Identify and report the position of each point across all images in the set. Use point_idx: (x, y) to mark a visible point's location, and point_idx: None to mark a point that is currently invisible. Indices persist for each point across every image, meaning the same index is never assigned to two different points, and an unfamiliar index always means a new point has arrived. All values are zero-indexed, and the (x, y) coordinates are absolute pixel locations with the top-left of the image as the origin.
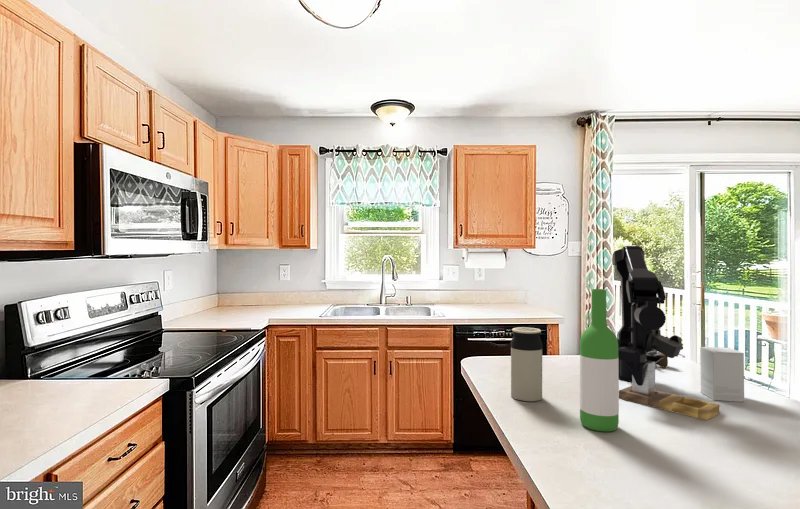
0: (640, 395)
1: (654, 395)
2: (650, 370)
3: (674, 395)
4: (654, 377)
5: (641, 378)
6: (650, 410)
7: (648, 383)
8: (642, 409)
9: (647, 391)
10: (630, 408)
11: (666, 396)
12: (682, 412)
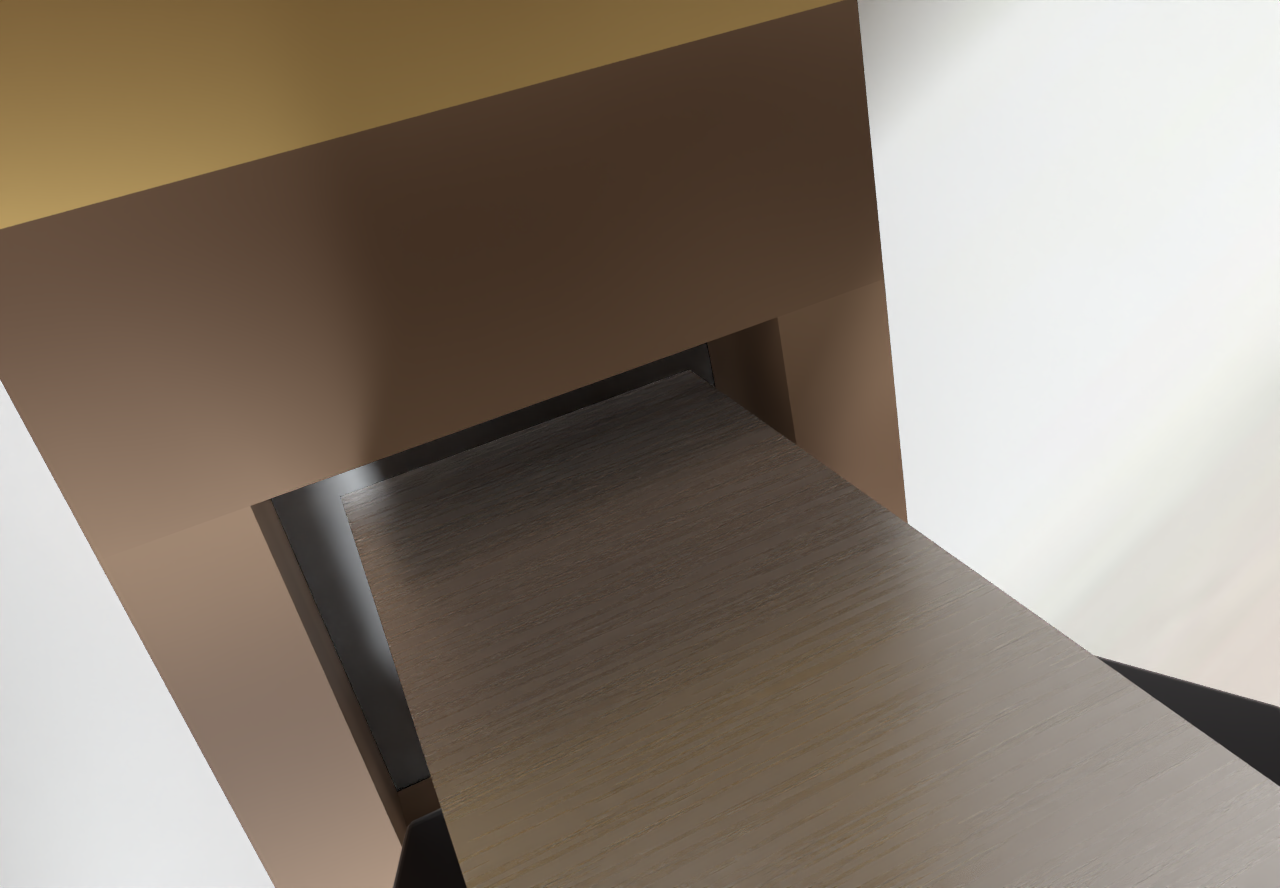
0: (885, 431)
1: (619, 336)
2: (1047, 881)
3: (13, 133)
4: (513, 789)
5: (1114, 666)
6: (990, 6)
7: (888, 522)
8: (1046, 113)
9: (773, 446)
10: (1138, 232)
11: (394, 153)
12: None
